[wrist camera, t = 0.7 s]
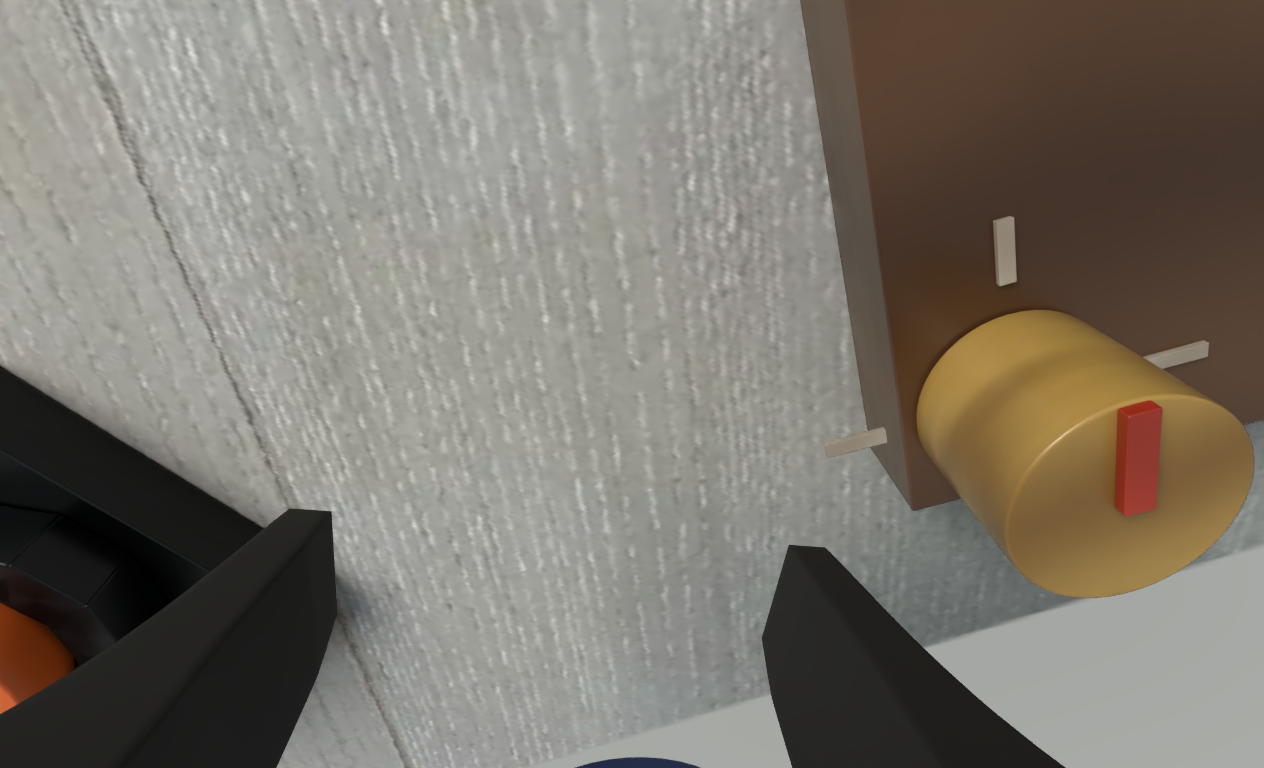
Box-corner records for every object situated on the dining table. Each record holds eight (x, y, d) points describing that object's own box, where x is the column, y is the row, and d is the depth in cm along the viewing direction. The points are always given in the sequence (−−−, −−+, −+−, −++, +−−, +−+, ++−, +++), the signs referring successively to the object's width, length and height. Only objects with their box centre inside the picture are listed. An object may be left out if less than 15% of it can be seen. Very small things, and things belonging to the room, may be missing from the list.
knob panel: (1524, 328, 20) (1678, 379, 17) (817, 513, 21) (852, 588, 19) (1722, -317, 14) (2015, -403, 11) (712, 5, 15) (740, 1, 12)
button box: (321, 563, 21) (268, 674, 18) (175, 707, 23) (101, 831, 20) (-33, 346, 18) (-189, 429, 14) (-165, 540, 20) (-329, 655, 16)
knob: (1108, 453, 17) (1256, 577, 13) (924, 500, 18) (1018, 635, 14) (1111, 283, 15) (1287, 372, 12) (904, 341, 16) (1009, 446, 12)
